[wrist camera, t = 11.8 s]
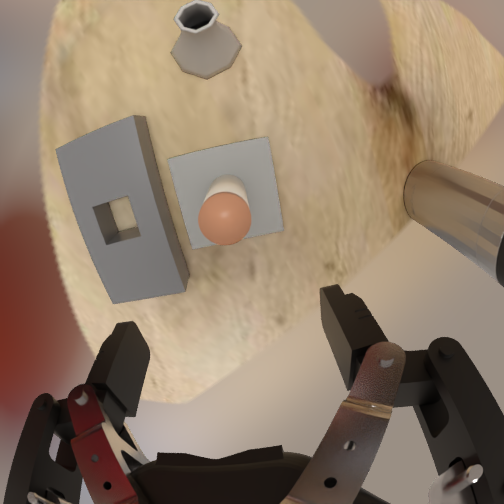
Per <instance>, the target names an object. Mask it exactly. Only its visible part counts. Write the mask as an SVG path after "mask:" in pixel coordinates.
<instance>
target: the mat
mask: <svg viewBox="0 0 504 504" xmlns="http://www.w3.org/2000/svg"><path fill="white" fill-rule="evenodd" d="M167 160H168V164H169V167H170V171H171V175H172V179H173V183H174V187H175V190H176V194H177V198H178V201H179V205H180V209H181V212H182V216H183V219H184V223H185V226H186V229H187V233H188V236H189V240H190V243H191V246H192V249H197V248H202V247H207V246H212V245H216V243H213V242H211V241H210V240H208V239H207V238H206V237H205V236H204V235H203V234H202V232H201V230H200V228H199V224H198V216H199V212H200V209H201V207H202V204H203V202H204V199H205V197H206V195H207V192H208V190H209V188H210V185H211V183H212V182H213V181H214V180H215V179H216V178H217V177H219V176H221V175H226V174H229V175H234V176H236V177H238V178H239V179H240V180H241V181H242V182H243V184H244V186H245V189H246V194H247V199H248V203H249V208H250V213H251V226H250V229H249V231H248V233H247V234H246V236H245V237H244V238H243V239H245V238H250V237H255V236H260V235H265V234H270V233H275V232H280V231H284V228H283V221H282V215H281V209H280V202H279V196H278V190H277V184H276V178H275V172H274V167H273V161H272V155H271V150H270V144H269V139H268V137H263V138H257V139H251V140H246V141H241V142H236V143H231V144H226V145H222V146H217V147H213V148H208V149H204V150H200V151H196V152H192V153H188V154H184V155H180V156H176V157H173V158H169V159H167Z"/></svg>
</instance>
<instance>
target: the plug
mask: <svg viewBox="0 0 504 504" xmlns="http://www.w3.org/2000/svg"><path fill="white" fill-rule="evenodd" d="M198 224H199V228H200V230H201V232H202V234H203V235H204V236H205V237H206V238H207V239H208V240H210V241H211V242H213V243H216V244H219V245H231V244H234V243H237V242H239V241H240V240H242V239H243V238H244V237H245V236H246V234H247V233H248V231H249V229H250V226H251V213H250V208H249V203H248V199H247V194H246V189H245V186H244V184H243V182H242V181H241V180H240V179H239V178H238V177H236V176H234V175H229V174H226V175H221V176H219V177H217V178H216V179H215V180H214V181H213V182H212V183H211V185H210V188H209V190H208V192H207V195H206V197H205V199H204V202H203V204H202V207H201V209H200V212H199V216H198Z"/></svg>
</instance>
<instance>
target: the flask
mask: <svg viewBox="0 0 504 504" xmlns="http://www.w3.org/2000/svg"><path fill="white" fill-rule="evenodd" d="M218 16H219V13H218V12H217V10H216V9H215V8H214V6H213V5H212V4H211V3H209V2H205V1H201V0H194V1H192V2H190V3H187V4H185V5H183V6H181V8H180V9H179V11H178V12H177V14H176V16H175V17H174V21H175V22H176V24H177V25H178V27H179V28H180V30H181V34H180V36H179V38H178V40H177V42H176V43H175V45H174V47H173V49H172V51H171V54H172V56H173V57H174V59H175V60H176V62H177V63H178V65H179V66H180V68H181V70H182V71H183V72H186V73H189V74H193V75H196V76H199V77H202V78H204V79H208V78H210V77H212V76H214V75H216V74H218V73H220V72H222V71H224V70H226V69H228V68H230V67H231V66H232V64H233V62H234V60H235V58H236V56H237V55H238V53H239V51H240V49H241V47H242V45H241V43H240V42H239V40H238V39H237V37H236V36H235V34H234V33H233V31H232V30H231V29H230V27H228V26H226V25H224V24H221V23H219V22H217V21H216V19H217V18H218Z"/></svg>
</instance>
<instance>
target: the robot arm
mask: <svg viewBox="0 0 504 504" xmlns="http://www.w3.org/2000/svg"><path fill="white" fill-rule="evenodd" d="M404 203H405V207H406V210H407V212H408V214H409V215H410V217H411V218H412V219H413V220H415V221H416V222H418V223H419V224H421V225H423V226H424V227H426V228H427V229H428V230H430V231H431V232H433V233H434V234H435V235H437V236H438V237H440V238H441V239H443V240H444V241H445V242H447V243H448V244H450V245H451V246H452V247H454V248H455V249H456V250H458V251H459V252H461V253H462V254H463V255H464V256H466V257H467V258H468V259H470V260H471V261H472V262H474V263H475V264H476V265H477V266H479V267H480V268H481V269H483V270H484V271H485V272H486V273H488V274H489V275H490V276H491V277H492V278H493V279H495V280H496V281H497V282H498V283H500V284H501V285H502V286H503V287H504V186H502V185H500V184H498V183H495V182H493V181H490V180H488V179H485V178H483V177H480V176H477V175H474V174H472V173H469V172H466V171H463V170H461V169H458V168H455V167H452V166H449V165H446V164H443V163H439V162H436V161H432V160H427V161H423V162H421V163H420V164H418V165H417V166H416V167H415V168H414V169H413V170H412V171H411V173H410V175H409V176H408V179H407V181H406V185H405V189H404ZM320 305H321V320H322V325H323V329H324V332H325V334H326V337H327V339H328V341H329V344H330V346H331V349H332V352H333V354H334V357H335V359H336V362H337V365H338V367H339V370H340V372H341V375H342V377H343V380H344V383H345V385H346V388H347V390H348V391H349V390H350V393H349V395H348V397H347V399H346V400H344V401H343V402H342V403H341V405H340V407H339V409H338V411H337V413H336V415H335V416H334V418H333V420H332V422H331V424H330V426H329V428H328V430H327V432H326V434H325V436H324V437H323V439H322V441H321V443H320V444H319V446H318V448H317V450H316V451H315V453H314V455H313V457H310V456H307V455H303V454H299V453H292V452H284V451H283V448H282V445H279V446H273V447H266V448H260V449H251V450H247V451H244V452H241V453H237V454H234V455H231V456H228V457H224V458H221V459H209V458H204V457H199V456H195V455H190V454H186V453H159V452H158V453H157V460H155V461H152V462H150V461H149V460H148V459H147V458H146V457H145V455H144V454H143V452H142V451H141V449H140V447H139V445H138V444H137V442H136V440H135V438H134V437H133V435H132V433H131V431H130V429H129V428H128V426H127V424H126V423H125V422H124V419H125V417H135V416H136V411H137V408H138V403H139V399H140V395H141V391H142V387H143V383H144V379H145V375H146V371H147V368H148V364H149V360H150V350H149V347H148V345H147V343H146V341H145V340H144V338H143V336H142V334H141V332H140V331H139V329H138V327H137V325H136V323H135V322H133V321H130V322H122V323H117V324H116V326H115V328H114V330H113V332H112V335H109V337H108V338H107V339H106V340H105V341H104V342H103V344H102V346H101V348H100V350H99V353H98V355H97V357H96V360H95V361H94V364H93V366H92V368H91V371H90V373H89V375H88V378H87V380H86V383H85V384H80V385H78V386H76V387H74V388H73V389H72V390H71V391H70V393H69V395H68V398H66V399H62V400H58V401H56V400H55V399H54V398H53V397H52V396H51V395H50V394H48V393H44V394H41V395H39V396H38V397H37V398H36V399H35V400H34V402H33V404H32V407H31V409H30V412H29V414H28V417H27V419H26V422H25V425H24V428H23V430H22V433H21V437H20V439H19V443H18V446H17V449H16V452H15V456H14V459H13V462H12V466H11V470H10V474H9V478H8V483H7V487H6V492H5V498H4V503H3V504H79V499H80V491H81V484H82V479H84V482H85V484H86V487H87V489H88V491H89V494H90V496H91V498H92V500H93V502H94V504H390V503H388V502H386V501H384V500H382V499H381V498H379V497H377V496H375V495H373V494H372V493H370V492H368V491H366V490H365V489H363V488H361V486H362V484H363V482H364V480H365V478H366V476H367V474H368V472H369V470H370V467H371V465H372V463H373V461H374V459H375V456H376V454H377V452H378V449H379V447H380V444H381V442H382V439H383V436H384V434H385V431H386V428H387V426H388V423H389V420H390V417H391V413H392V408H394V407H405V406H413V408H414V410H415V413H416V415H417V418H418V420H419V423H420V425H421V428H422V430H423V433H424V435H425V438H426V441H427V443H428V446H429V449H430V452H431V454H432V457H433V460H434V463H435V466H436V469H437V472H438V475H439V476H438V477H437V478H436V479H435V480H434V481H433V483H432V485H431V486H430V489H429V493H428V497H429V504H504V415H503V413H502V411H501V409H500V407H499V406H498V404H497V402H496V400H495V398H494V397H493V395H492V393H491V391H490V390H489V388H488V386H487V385H486V383H485V381H484V380H483V378H482V376H481V375H480V373H479V372H478V370H477V368H476V367H475V365H474V364H473V362H472V361H471V359H470V358H469V356H468V355H467V353H466V352H465V350H464V349H463V348H462V346H461V345H460V343H459V342H458V341H456V340H454V339H452V338H449V337H440V338H437V339H435V340H434V341H432V342H431V344H430V345H429V348H428V350H419V351H404V350H403V349H402V348H401V347H400V346H399V345H397V344H395V343H392V342H389V341H388V339H387V338H386V336H385V335H384V333H383V331H382V330H381V328H380V327H379V325H378V323H377V322H376V320H375V319H374V317H373V316H372V314H371V312H370V311H369V309H367V306H366V305H365V303H364V302H363V300H362V299H361V298H359V297H358V296H356V295H355V294H353V293H350V294H346V295H345V294H344V293H343V291H342V289H341V288H340V286H339V285H338V284H335V285H331V286H327V287H322V288H320ZM53 434H55V435H56V436H58V437H59V438H60V439H61V441H60V444H59V448H58V452H57V456H56V461H53V460H52V459H51V457H50V455H49V447H50V443H51V440H52V437H53Z"/></svg>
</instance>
